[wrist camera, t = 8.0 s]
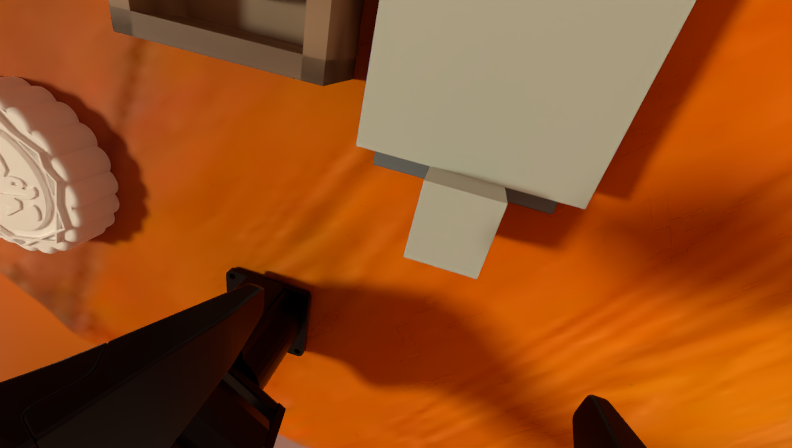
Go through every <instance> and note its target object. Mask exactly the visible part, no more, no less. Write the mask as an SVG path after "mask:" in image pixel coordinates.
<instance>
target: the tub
mask: <svg viewBox="0 0 792 448" xmlns="http://www.w3.org/2000/svg"><path fill="white" fill-rule="evenodd" d="M363 5H364V0H109V6H110V12H111V19H112V25H113V31H115V32H119V33H122V34H126V35H130V36H134V37H138V38H141V39H145V40H149V41H153V42H157V43H161V44H164V45H168V46H172V47H176V48H180V49H183V50H187V51H191V52H195V53H199V54H203V55H206V56H210V57H214V58H218V59H222V60H225V61H229V62H233V63H237V64H241V65H245V66H248V67H252V68H256V69H260V70H264V71H268V72H271V73H275V74H279V75H283V76H287V77H290V78H294V79H298V80H302V81H306V82H310V83H313V84H317V85H321V86H325V85H329V84H334V83H338V82H342V81H346V80H351V79H353V76H354V69H355V62H356V54H357V47H358V40H359V33H360V26H361V19H362V12H363Z"/></svg>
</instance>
